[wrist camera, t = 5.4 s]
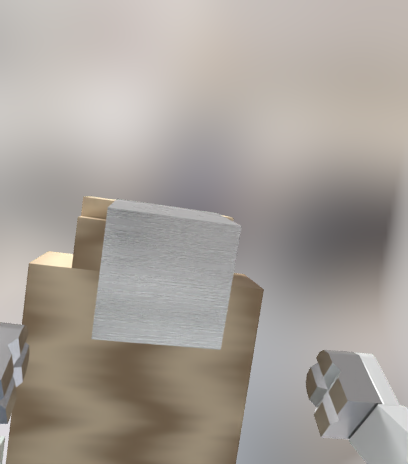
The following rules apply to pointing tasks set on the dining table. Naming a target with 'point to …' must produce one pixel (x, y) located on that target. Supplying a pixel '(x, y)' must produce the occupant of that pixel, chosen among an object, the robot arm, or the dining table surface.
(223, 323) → the bar
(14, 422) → the tan wooden tall block
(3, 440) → the raised tray
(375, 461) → the robot arm
